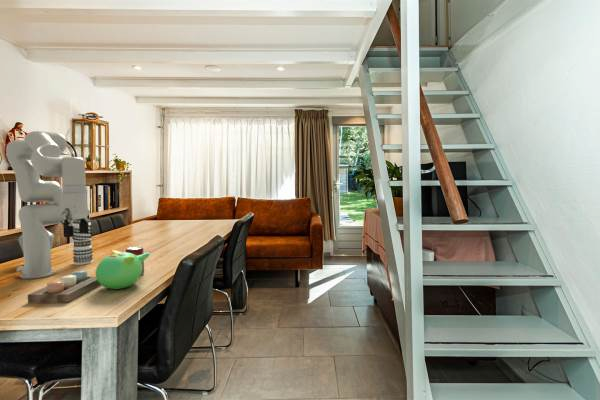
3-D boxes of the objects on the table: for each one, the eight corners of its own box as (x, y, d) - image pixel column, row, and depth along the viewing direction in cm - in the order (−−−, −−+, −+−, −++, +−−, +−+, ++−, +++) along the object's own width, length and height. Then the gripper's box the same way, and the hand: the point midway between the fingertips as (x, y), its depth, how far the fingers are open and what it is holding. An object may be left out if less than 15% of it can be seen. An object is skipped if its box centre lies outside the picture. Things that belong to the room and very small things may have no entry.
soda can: (137, 277, 152) (136, 250, 151) (122, 276, 153) (121, 249, 152) (147, 272, 159) (146, 246, 158) (133, 272, 160) (132, 246, 159)
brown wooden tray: (28, 303, 121) (27, 294, 121) (69, 283, 143) (68, 276, 142) (68, 302, 121) (68, 294, 121) (103, 283, 143) (103, 276, 143)
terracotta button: (43, 295, 122) (43, 284, 122) (53, 291, 127) (53, 280, 127) (58, 295, 122) (57, 284, 122) (67, 291, 127) (67, 280, 127)
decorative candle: (88, 259, 185) (86, 212, 183) (97, 262, 179) (95, 213, 178) (69, 263, 177) (67, 214, 176) (77, 265, 172) (75, 215, 170)
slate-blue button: (69, 283, 136) (69, 273, 136) (77, 280, 141) (77, 270, 141) (82, 283, 136) (82, 273, 136) (90, 279, 141) (89, 270, 141)
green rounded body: (110, 281, 146) (109, 246, 145) (151, 280, 148) (150, 245, 147) (87, 295, 128) (86, 256, 127) (135, 294, 130) (133, 255, 129)
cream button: (57, 289, 129) (57, 278, 129) (66, 285, 134) (65, 275, 134) (71, 289, 129) (70, 278, 129) (79, 285, 134) (79, 275, 134)
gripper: (77, 189, 141) (79, 231, 142) (48, 190, 123) (51, 238, 124) (96, 189, 141) (98, 231, 142) (70, 190, 124) (73, 238, 125)
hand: (76, 234), depth 133 cm, fingers open, 9 cm apart
